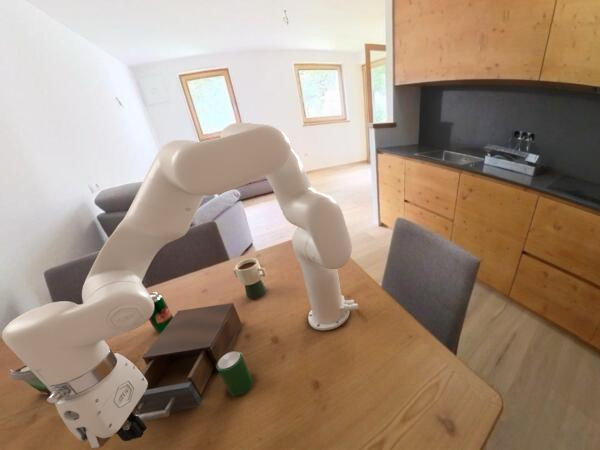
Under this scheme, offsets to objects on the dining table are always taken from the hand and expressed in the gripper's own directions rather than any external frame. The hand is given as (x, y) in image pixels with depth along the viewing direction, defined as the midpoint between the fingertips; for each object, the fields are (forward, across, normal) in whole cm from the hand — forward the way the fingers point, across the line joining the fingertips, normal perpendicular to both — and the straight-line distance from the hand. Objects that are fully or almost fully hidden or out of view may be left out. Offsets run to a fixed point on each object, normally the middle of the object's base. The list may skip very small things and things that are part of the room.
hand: (135, 434), depth 53 cm
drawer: (+5, +12, 0) cm, 13 cm away
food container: (+6, +20, +29) cm, 36 cm away
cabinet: (+6, +24, 0) cm, 25 cm away
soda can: (+6, +36, +16) cm, 40 cm away
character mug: (+6, +46, -8) cm, 47 cm away
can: (+6, +11, -14) cm, 19 cm away
